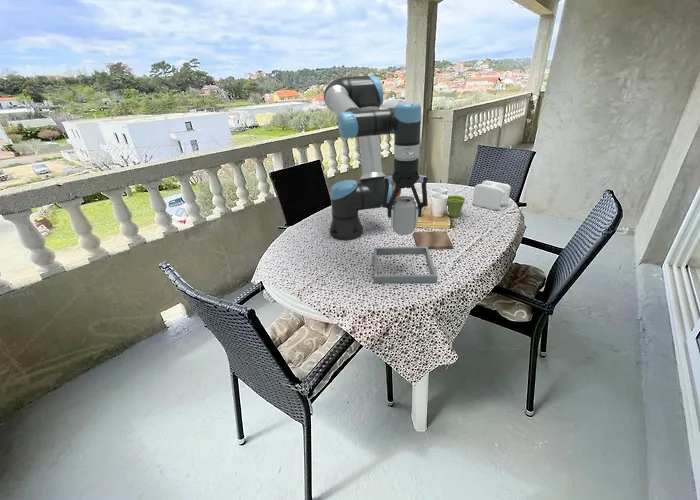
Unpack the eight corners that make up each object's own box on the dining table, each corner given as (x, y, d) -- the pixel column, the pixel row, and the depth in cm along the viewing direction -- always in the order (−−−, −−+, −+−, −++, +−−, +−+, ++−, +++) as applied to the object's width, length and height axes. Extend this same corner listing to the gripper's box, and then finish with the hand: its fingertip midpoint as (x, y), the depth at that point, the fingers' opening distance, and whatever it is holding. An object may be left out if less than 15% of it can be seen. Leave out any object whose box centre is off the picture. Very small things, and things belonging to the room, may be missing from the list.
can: (414, 236, 104) (416, 202, 99) (391, 235, 106) (392, 202, 100) (414, 227, 111) (416, 194, 105) (393, 226, 112) (394, 194, 106)
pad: (417, 249, 126) (417, 246, 125) (413, 234, 138) (413, 232, 137) (452, 248, 125) (453, 246, 124) (445, 233, 137) (445, 231, 136)
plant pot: (448, 210, 160) (449, 194, 156) (466, 214, 155) (468, 197, 151) (440, 216, 154) (441, 199, 150) (458, 220, 149) (460, 203, 145)
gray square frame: (374, 283, 106) (374, 276, 105) (374, 253, 125) (373, 247, 124) (437, 282, 105) (437, 276, 104) (427, 252, 123) (427, 246, 122)
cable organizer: (470, 204, 166) (473, 183, 160) (481, 199, 172) (484, 179, 166) (497, 212, 155) (501, 189, 150) (508, 206, 161) (512, 184, 156)
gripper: (373, 162, 94) (374, 231, 105) (442, 159, 92) (435, 229, 103) (373, 156, 100) (374, 221, 111) (437, 154, 99) (432, 220, 110)
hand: (403, 225), depth 107 cm, fingers closed on can, 7 cm apart
